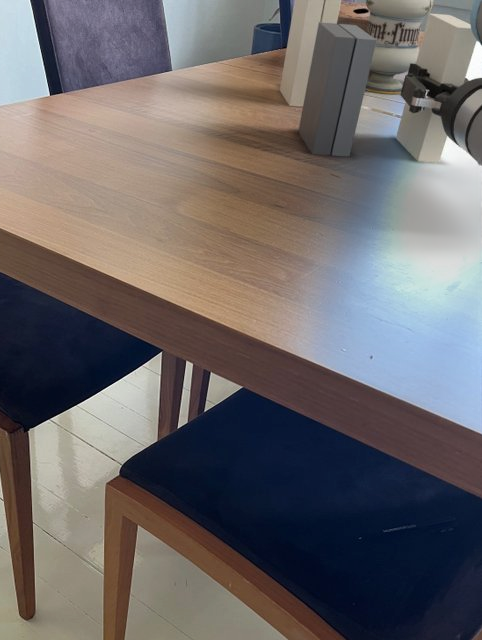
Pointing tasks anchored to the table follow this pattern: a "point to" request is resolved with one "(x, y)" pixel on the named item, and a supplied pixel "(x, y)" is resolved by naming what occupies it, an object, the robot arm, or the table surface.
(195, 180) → the table surface
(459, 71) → the white book
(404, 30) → the apothecary jar
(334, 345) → the table surface
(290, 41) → the white books
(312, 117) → the grey books
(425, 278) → the table surface
